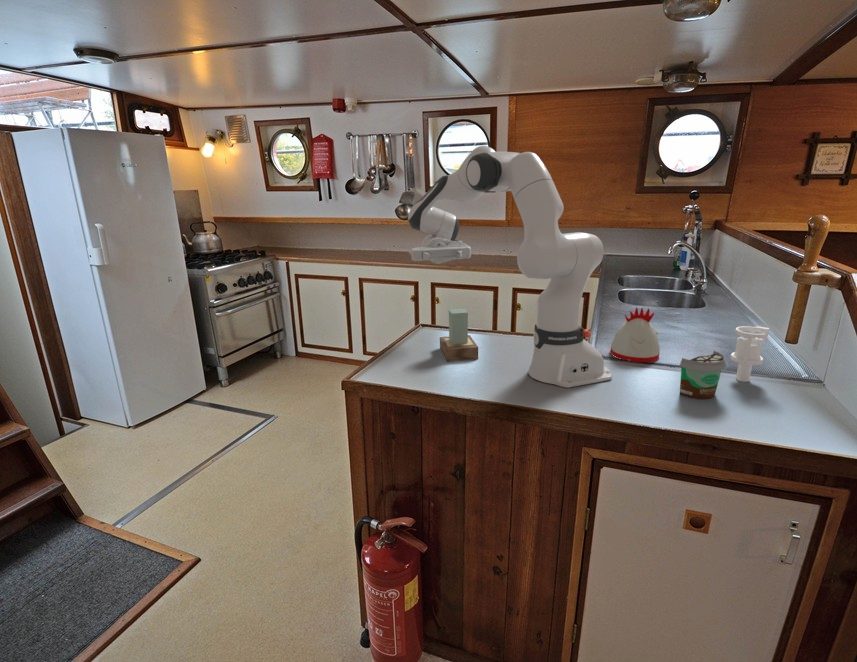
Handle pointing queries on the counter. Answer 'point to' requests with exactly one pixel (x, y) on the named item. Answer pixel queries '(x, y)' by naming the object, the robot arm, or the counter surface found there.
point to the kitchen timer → (636, 339)
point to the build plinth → (458, 350)
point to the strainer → (748, 350)
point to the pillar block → (458, 326)
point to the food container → (701, 375)
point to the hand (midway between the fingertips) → (444, 256)
